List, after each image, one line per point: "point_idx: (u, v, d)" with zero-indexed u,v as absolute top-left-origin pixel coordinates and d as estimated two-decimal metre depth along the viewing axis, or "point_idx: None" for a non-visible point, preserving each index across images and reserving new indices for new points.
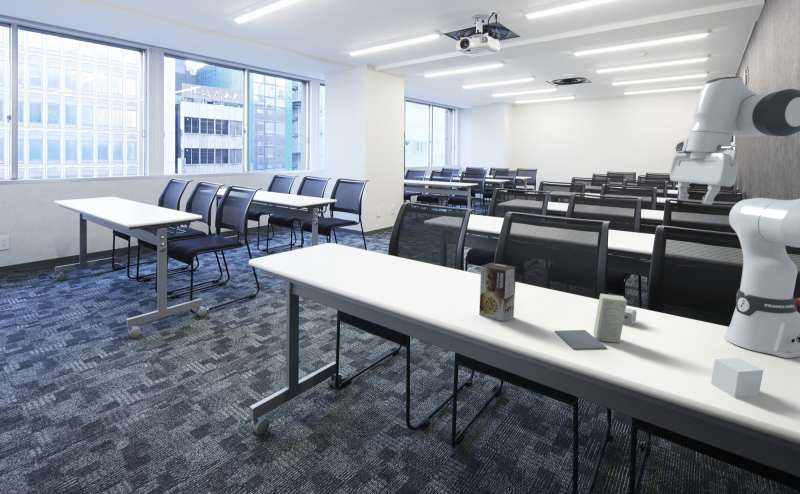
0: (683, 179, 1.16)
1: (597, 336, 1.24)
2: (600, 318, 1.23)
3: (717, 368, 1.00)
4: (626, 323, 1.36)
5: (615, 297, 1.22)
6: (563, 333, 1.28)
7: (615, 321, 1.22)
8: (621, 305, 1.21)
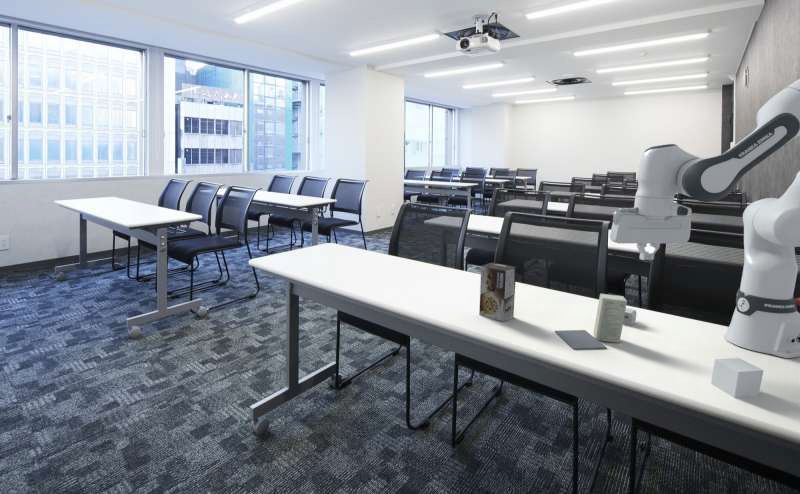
0: None
1: (597, 336, 1.24)
2: (600, 318, 1.23)
3: (717, 368, 1.00)
4: (626, 323, 1.36)
5: (615, 297, 1.22)
6: (563, 333, 1.28)
7: (615, 321, 1.22)
8: (621, 305, 1.21)
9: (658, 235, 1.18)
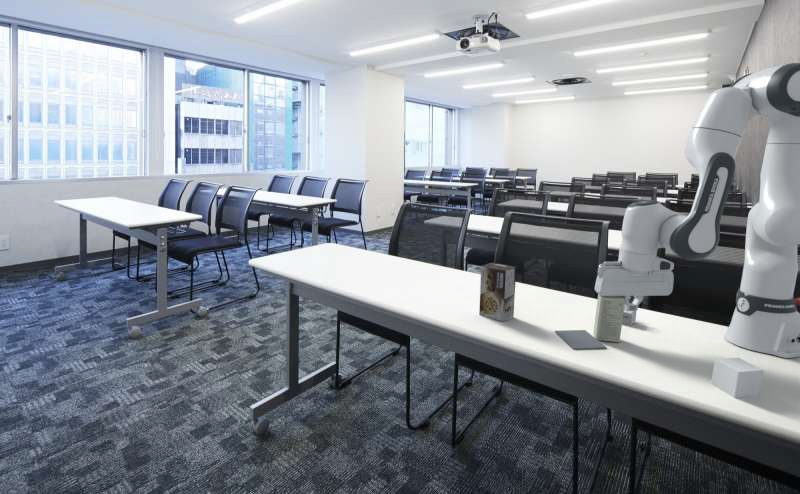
0: None
1: (597, 336, 1.24)
2: (599, 318, 1.23)
3: (717, 368, 1.00)
4: (626, 323, 1.36)
5: (613, 296, 1.22)
6: (563, 333, 1.28)
7: (614, 320, 1.22)
8: (619, 304, 1.21)
9: (641, 288, 1.21)
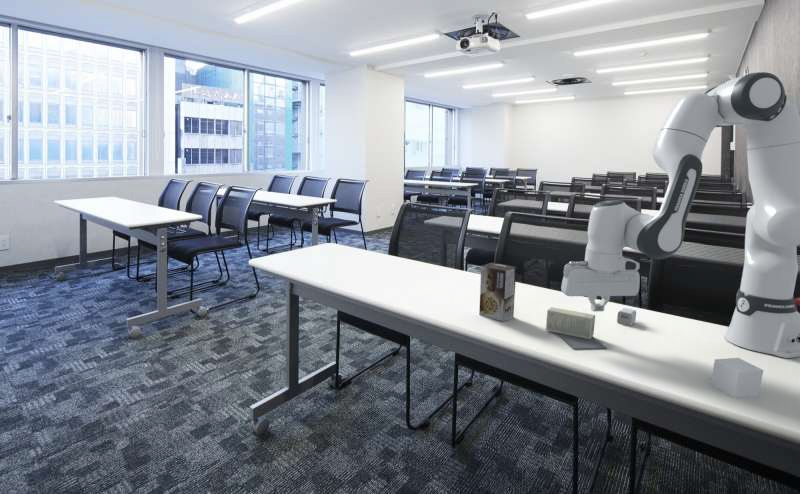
0: None
1: (586, 338, 1.24)
2: (566, 334, 1.27)
3: (717, 368, 1.00)
4: (626, 323, 1.36)
5: None
6: None
7: (568, 321, 1.26)
8: (552, 315, 1.28)
9: (607, 288, 1.20)
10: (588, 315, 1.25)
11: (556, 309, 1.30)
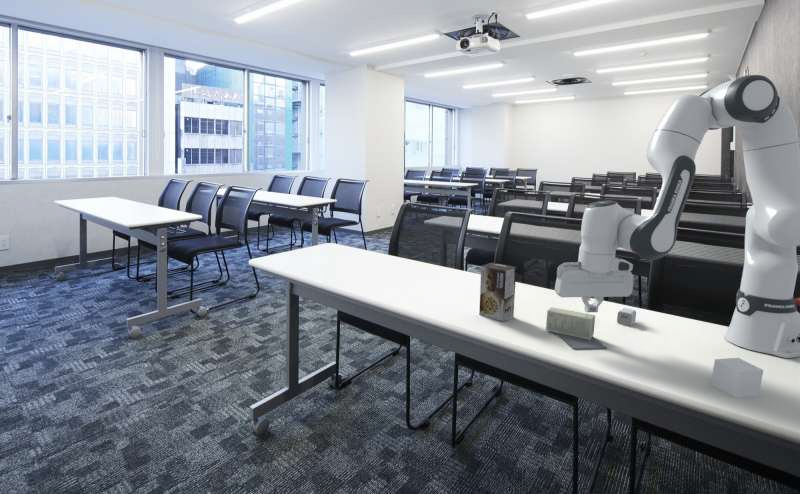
0: None
1: (586, 338, 1.24)
2: (566, 334, 1.27)
3: (717, 368, 1.00)
4: (626, 323, 1.36)
5: None
6: None
7: (568, 321, 1.26)
8: (551, 315, 1.28)
9: (601, 289, 1.20)
10: (588, 315, 1.25)
11: (556, 309, 1.30)
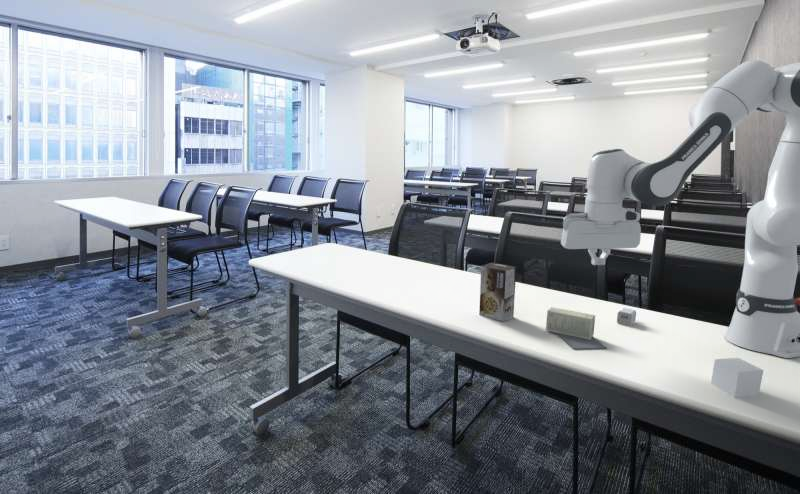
0: None
1: (586, 338, 1.24)
2: (566, 334, 1.27)
3: (717, 368, 1.00)
4: (626, 323, 1.36)
5: None
6: None
7: (568, 321, 1.26)
8: (551, 315, 1.28)
9: (608, 240, 1.18)
10: (588, 315, 1.25)
11: (556, 309, 1.30)
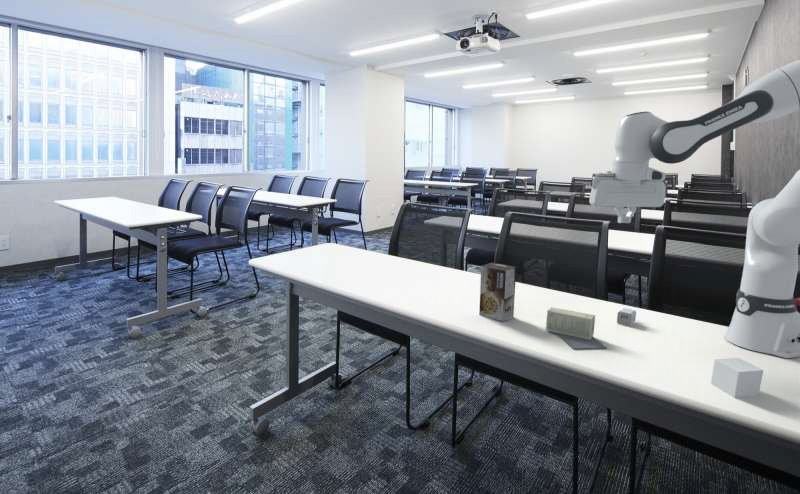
0: None
1: (586, 338, 1.24)
2: (566, 334, 1.27)
3: (717, 368, 1.00)
4: (626, 323, 1.36)
5: None
6: None
7: (568, 321, 1.26)
8: (551, 315, 1.28)
9: (634, 198, 1.25)
10: (588, 315, 1.25)
11: (556, 309, 1.30)
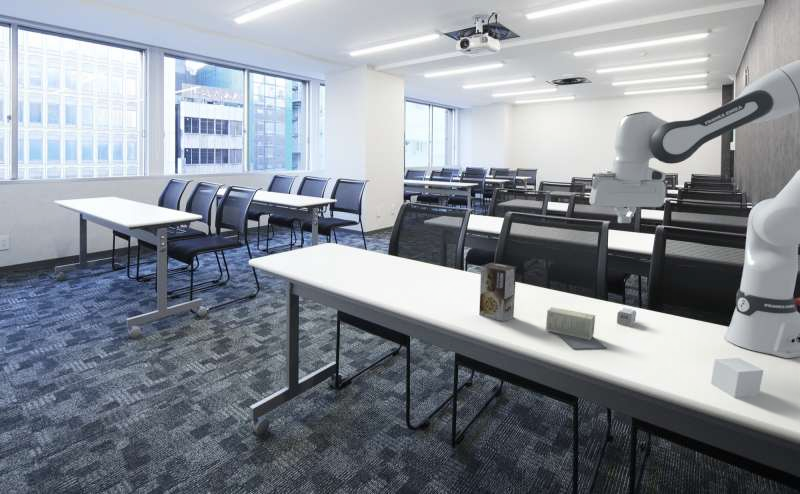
0: None
1: (586, 338, 1.24)
2: (566, 334, 1.27)
3: (717, 368, 1.00)
4: (626, 324, 1.36)
5: None
6: None
7: (568, 321, 1.26)
8: (551, 315, 1.28)
9: (634, 198, 1.25)
10: (588, 315, 1.25)
11: (556, 309, 1.30)
